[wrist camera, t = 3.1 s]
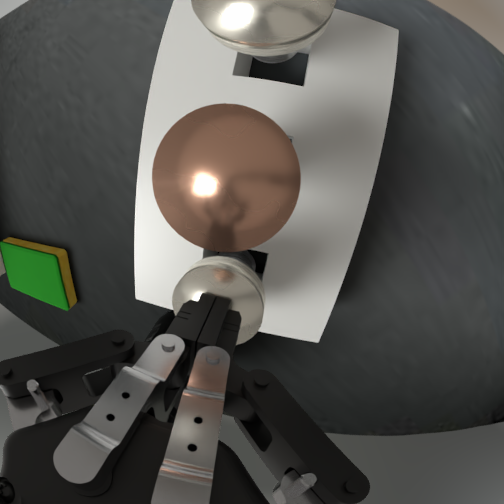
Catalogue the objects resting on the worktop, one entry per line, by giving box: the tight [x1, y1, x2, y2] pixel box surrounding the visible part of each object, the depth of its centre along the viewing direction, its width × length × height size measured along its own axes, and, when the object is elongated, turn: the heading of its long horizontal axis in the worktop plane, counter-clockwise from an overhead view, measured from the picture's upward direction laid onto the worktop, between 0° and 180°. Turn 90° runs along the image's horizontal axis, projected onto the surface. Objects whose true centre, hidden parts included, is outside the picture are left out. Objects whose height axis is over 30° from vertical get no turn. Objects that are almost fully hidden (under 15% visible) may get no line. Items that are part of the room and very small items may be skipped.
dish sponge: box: [0, 237, 77, 311], centre depth 26 cm, size 7×14×2 cm, turn 85°
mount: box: [134, 0, 399, 343], centre depth 17 cm, size 14×22×5 cm, turn 170°
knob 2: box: [172, 250, 266, 345], centre depth 16 cm, size 5×5×6 cm
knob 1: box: [191, 0, 336, 63], centre depth 8 cm, size 5×5×6 cm
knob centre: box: [152, 103, 301, 252], centre depth 11 cm, size 5×5×6 cm
